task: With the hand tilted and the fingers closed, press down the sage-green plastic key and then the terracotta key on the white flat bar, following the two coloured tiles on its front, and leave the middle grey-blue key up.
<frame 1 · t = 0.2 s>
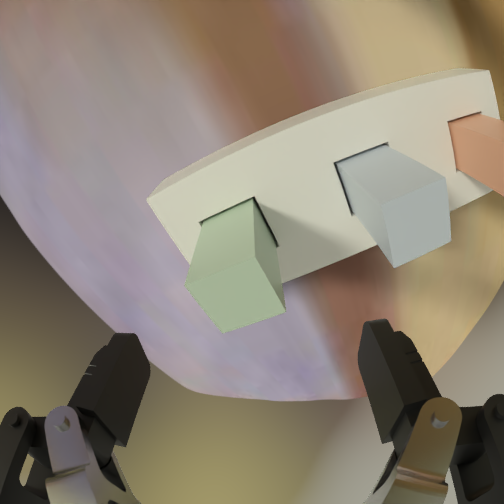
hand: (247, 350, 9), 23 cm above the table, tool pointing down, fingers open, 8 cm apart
white flat bar: (349, 163, 28), on the table
key grey: (389, 195, 20), point 10 cm above the table, slide at 0.0 cm
key sage: (238, 258, 23), point 10 cm above the table, slide at 0.0 cm
key terracotta: (495, 151, 17), point 10 cm above the table, slide at 0.0 cm
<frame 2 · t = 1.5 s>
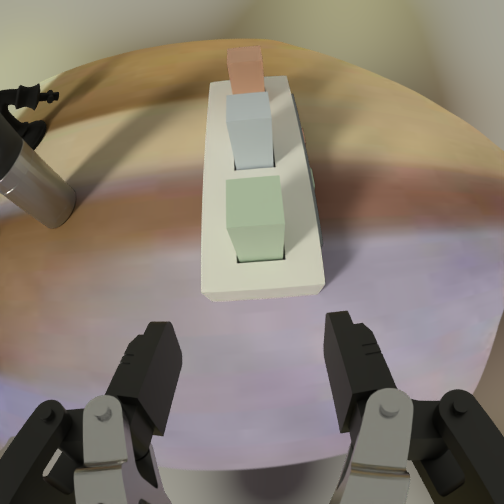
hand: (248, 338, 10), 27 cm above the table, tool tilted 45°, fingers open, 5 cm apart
white flat bar: (256, 177, 43), on the table
key grey: (251, 133, 34), point 10 cm above the table, slide at 0.0 cm
key sage: (257, 224, 30), point 10 cm above the table, slide at 0.0 cm
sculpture: (38, 133, 57), on the table
key terracotta: (247, 78, 38), point 10 cm above the table, slide at 0.0 cm
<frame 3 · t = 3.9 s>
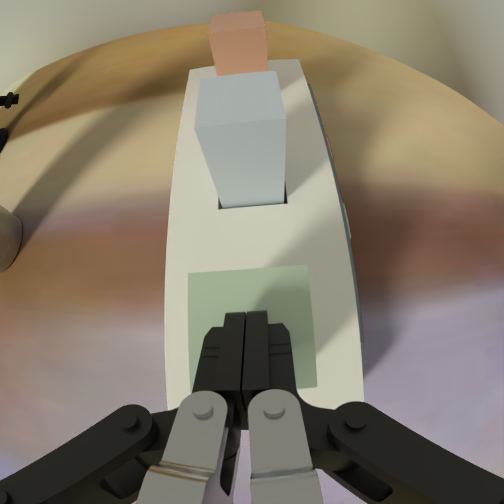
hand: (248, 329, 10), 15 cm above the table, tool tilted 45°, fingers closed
white flat bar: (256, 210, 29), on the table
key grey: (246, 147, 20), point 10 cm above the table, slide at 0.0 cm
key sage: (257, 336, 16), point 10 cm above the table, slide at 0.4 cm, touching gripper
key terracotta: (241, 59, 24), point 10 cm above the table, slide at 0.0 cm
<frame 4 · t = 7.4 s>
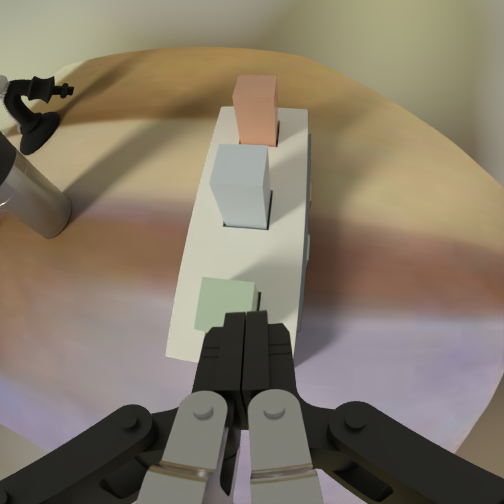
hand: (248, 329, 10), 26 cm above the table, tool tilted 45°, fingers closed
white flat bar: (252, 228, 40), on the table
key grey: (244, 190, 31), point 10 cm above the table, slide at 0.0 cm
key sage: (232, 313, 30), point 6 cm above the table, slide at 3.6 cm
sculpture: (51, 126, 57), on the table
key terracotta: (258, 112, 35), point 10 cm above the table, slide at 0.0 cm
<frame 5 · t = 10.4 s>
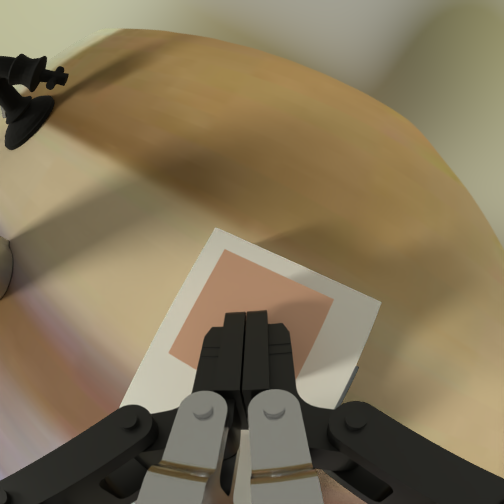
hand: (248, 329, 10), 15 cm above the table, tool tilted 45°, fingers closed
white flat bar: (201, 453, 21), on the table
key grey: (164, 498, 12), point 10 cm above the table, slide at 0.0 cm
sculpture: (42, 116, 42), on the table
key terracotta: (257, 335, 16), point 10 cm above the table, slide at 0.2 cm, touching gripper
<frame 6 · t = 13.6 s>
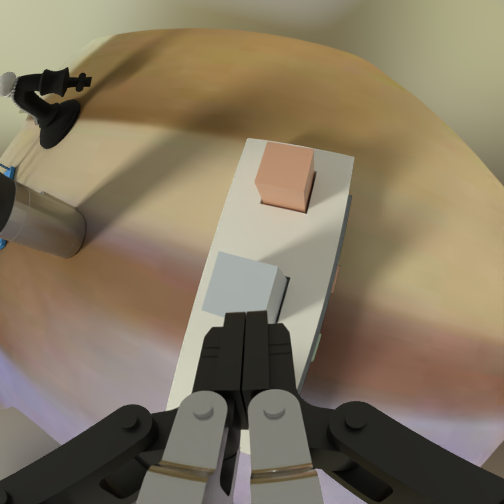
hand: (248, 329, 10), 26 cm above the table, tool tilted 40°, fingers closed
white flat bar: (266, 298, 36), on the table
key grey: (251, 293, 27), point 10 cm above the table, slide at 0.0 cm
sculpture: (71, 116, 55), on the table
key terracotta: (288, 185, 32), point 6 cm above the table, slide at 3.6 cm
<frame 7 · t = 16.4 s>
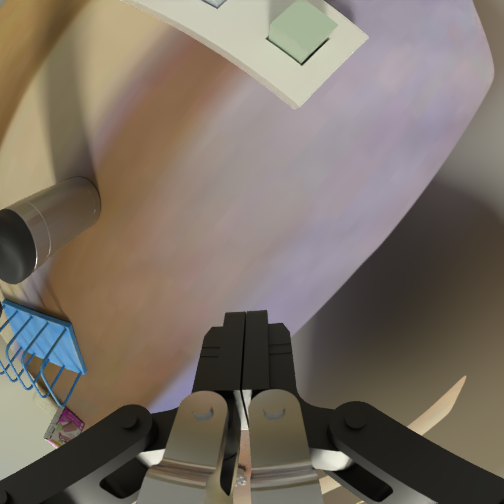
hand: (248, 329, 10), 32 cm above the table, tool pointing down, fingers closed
file sorter: (43, 334, 56), on the table
white flat bar: (220, 3, 28), on the table
key sage: (298, 36, 25), point 6 cm above the table, slide at 3.6 cm
candy bar box: (72, 414, 74), on the table
flag stand: (230, 470, 84), on the table
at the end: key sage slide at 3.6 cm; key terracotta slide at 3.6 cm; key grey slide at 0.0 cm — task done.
